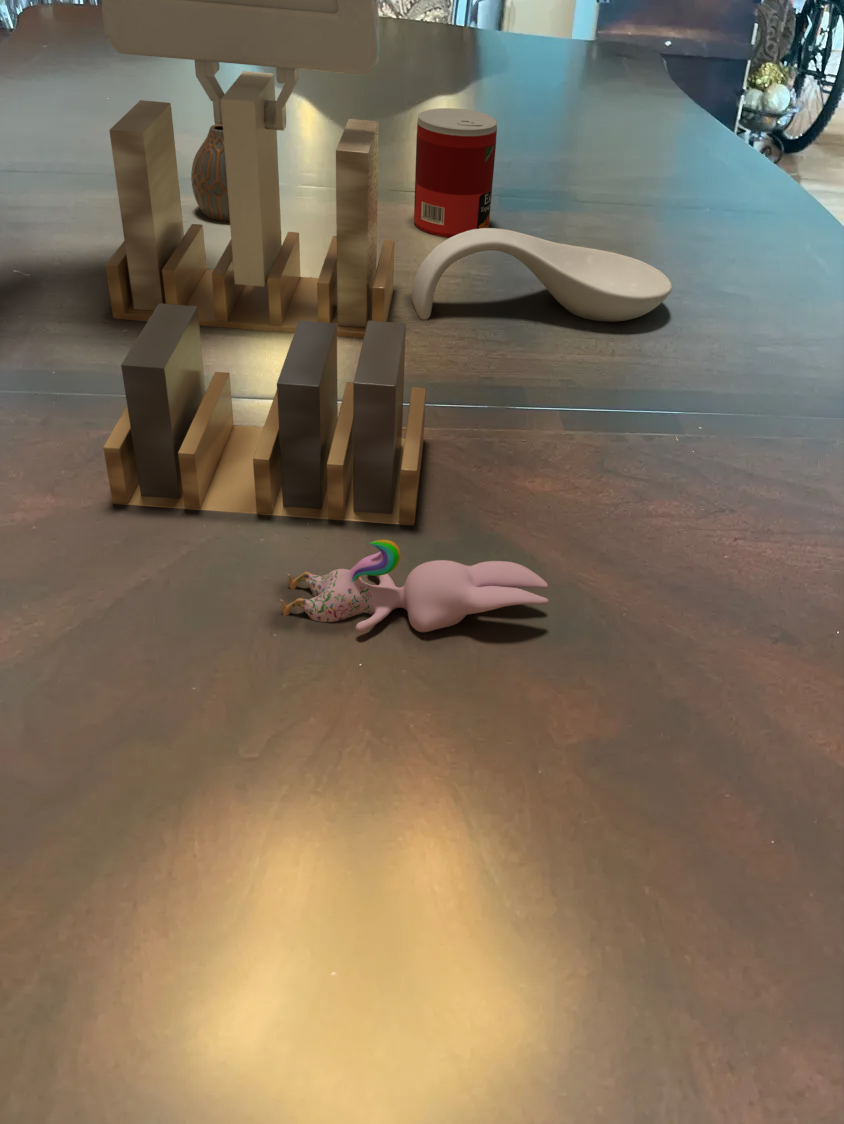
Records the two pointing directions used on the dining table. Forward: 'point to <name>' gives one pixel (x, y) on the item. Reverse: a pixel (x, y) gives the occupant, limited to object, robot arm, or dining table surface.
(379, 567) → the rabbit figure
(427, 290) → the spoon rest
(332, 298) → the wooden slotted rack
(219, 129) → the vase
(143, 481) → the brown wooden book rack
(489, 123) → the canned food
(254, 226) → the white book
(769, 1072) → the dining table surface
